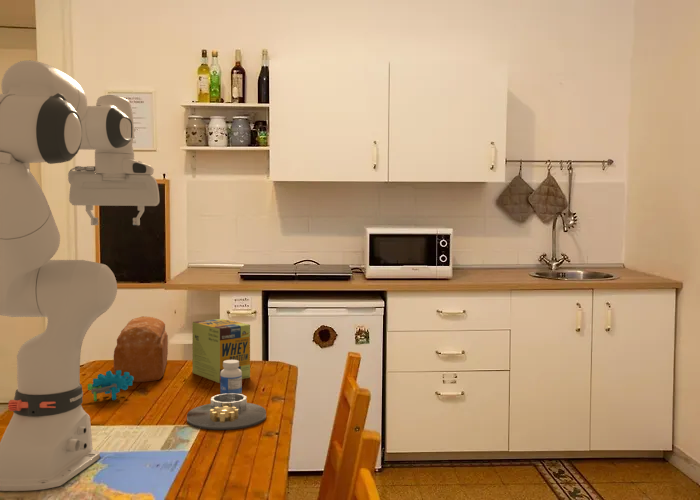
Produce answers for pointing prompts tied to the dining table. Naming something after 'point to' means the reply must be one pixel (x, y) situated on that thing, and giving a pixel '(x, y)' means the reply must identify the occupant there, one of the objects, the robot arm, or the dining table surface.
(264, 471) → the dining table surface
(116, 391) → the gear
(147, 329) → the bread
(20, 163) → the robot arm
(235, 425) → the carrier plate
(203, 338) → the protein box
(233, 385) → the pill bottle
